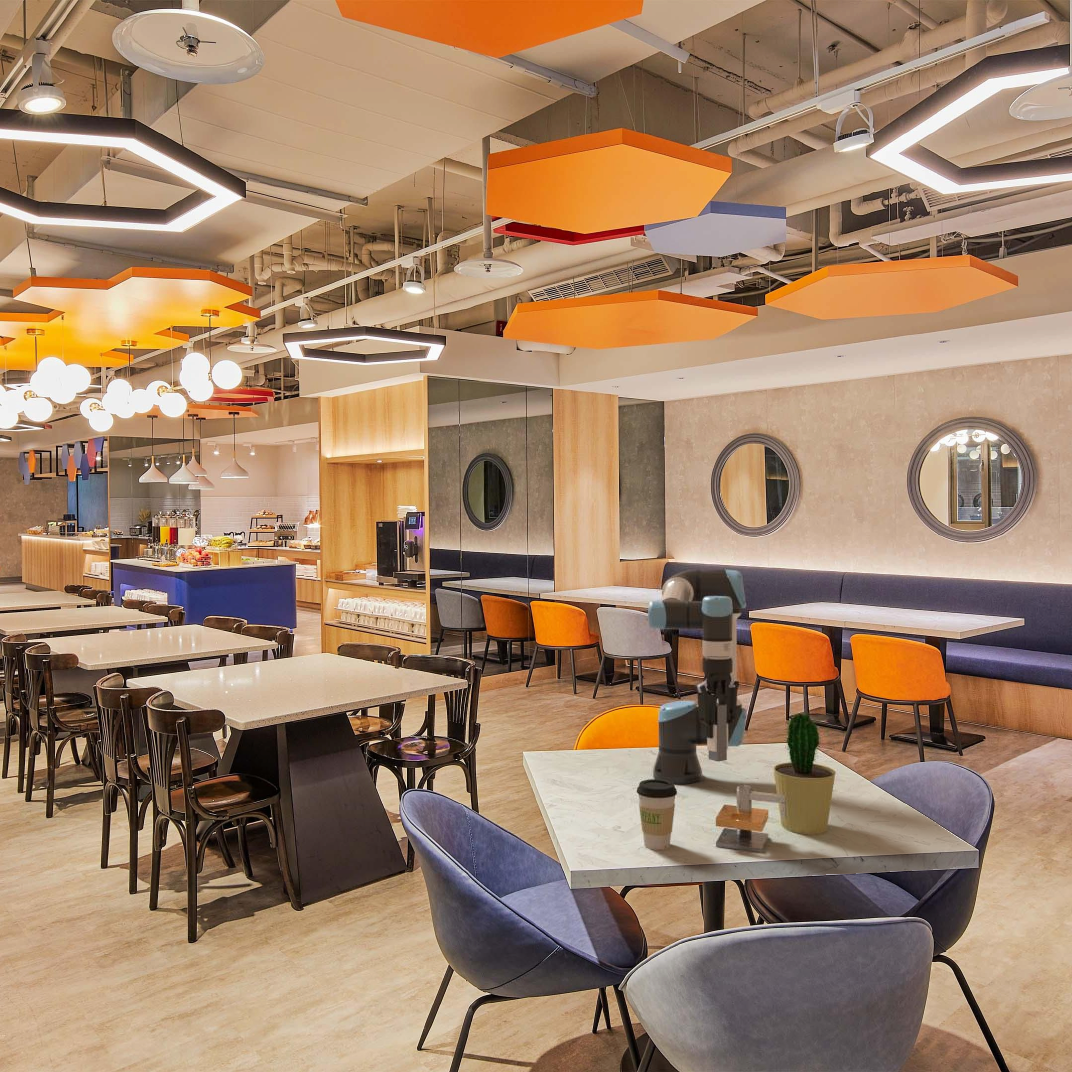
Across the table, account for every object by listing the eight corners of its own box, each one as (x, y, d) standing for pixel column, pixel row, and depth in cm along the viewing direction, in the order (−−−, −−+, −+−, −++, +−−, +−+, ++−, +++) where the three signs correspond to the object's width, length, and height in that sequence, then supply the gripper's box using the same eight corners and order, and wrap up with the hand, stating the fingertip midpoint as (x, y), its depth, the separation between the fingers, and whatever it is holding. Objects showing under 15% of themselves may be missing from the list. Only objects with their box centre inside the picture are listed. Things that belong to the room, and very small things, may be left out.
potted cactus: (827, 841, 213) (827, 720, 213) (765, 830, 221) (765, 713, 221) (841, 823, 226) (841, 709, 226) (783, 813, 234) (782, 703, 234)
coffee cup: (633, 838, 216) (632, 778, 216) (671, 837, 217) (671, 777, 217) (641, 853, 206) (641, 790, 206) (681, 852, 207) (681, 789, 207)
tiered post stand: (715, 846, 210) (715, 793, 210) (724, 831, 220) (724, 781, 220) (781, 855, 204) (781, 800, 204) (787, 840, 214) (786, 787, 214)
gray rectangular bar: (708, 759, 220) (708, 704, 220) (717, 757, 222) (717, 702, 222) (717, 761, 217) (717, 706, 217) (726, 760, 219) (726, 704, 219)
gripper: (704, 661, 212) (704, 756, 212) (751, 656, 221) (751, 748, 221) (683, 657, 218) (683, 750, 218) (729, 653, 227) (730, 742, 227)
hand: (717, 749), depth 219 cm, fingers closed on gray rectangular bar, 3 cm apart
